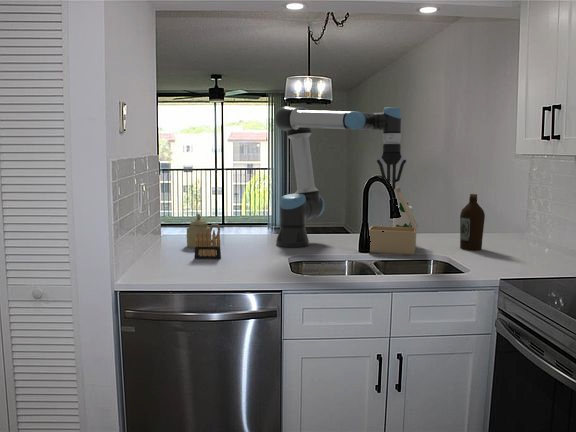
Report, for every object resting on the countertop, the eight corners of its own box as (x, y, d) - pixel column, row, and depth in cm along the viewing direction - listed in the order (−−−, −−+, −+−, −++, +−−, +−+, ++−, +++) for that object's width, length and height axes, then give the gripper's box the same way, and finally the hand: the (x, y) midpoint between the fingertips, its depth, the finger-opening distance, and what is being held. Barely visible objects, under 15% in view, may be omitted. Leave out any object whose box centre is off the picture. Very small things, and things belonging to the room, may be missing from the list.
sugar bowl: (218, 243, 268) (218, 211, 266) (220, 248, 257) (220, 214, 255) (186, 244, 265) (186, 212, 263) (187, 248, 254) (186, 215, 253)
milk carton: (393, 245, 267) (394, 203, 264) (391, 242, 276) (393, 201, 273) (412, 246, 266) (414, 203, 263) (410, 242, 275) (411, 201, 272)
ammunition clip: (194, 258, 233) (193, 229, 232) (195, 258, 235) (194, 229, 233) (220, 259, 233) (220, 230, 232) (221, 258, 235) (220, 229, 233)
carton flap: (394, 189, 243) (395, 188, 243) (396, 186, 256) (398, 185, 256) (414, 231, 243) (416, 230, 243) (416, 226, 256) (418, 225, 256)
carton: (367, 252, 250) (368, 229, 249) (371, 247, 262) (371, 225, 261) (414, 255, 245) (414, 232, 243) (415, 249, 257) (416, 227, 256)
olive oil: (473, 246, 268) (475, 192, 264) (488, 250, 258) (491, 195, 254) (453, 247, 264) (456, 193, 261) (468, 251, 254) (471, 195, 251)
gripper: (376, 143, 246) (375, 198, 249) (406, 143, 243) (405, 198, 245) (378, 143, 253) (377, 196, 256) (407, 143, 250) (406, 197, 253)
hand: (391, 197), depth 251 cm, fingers closed
